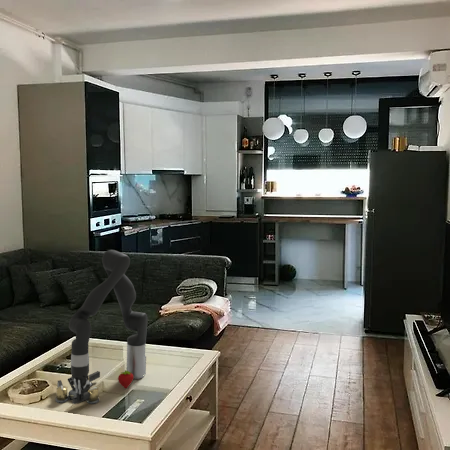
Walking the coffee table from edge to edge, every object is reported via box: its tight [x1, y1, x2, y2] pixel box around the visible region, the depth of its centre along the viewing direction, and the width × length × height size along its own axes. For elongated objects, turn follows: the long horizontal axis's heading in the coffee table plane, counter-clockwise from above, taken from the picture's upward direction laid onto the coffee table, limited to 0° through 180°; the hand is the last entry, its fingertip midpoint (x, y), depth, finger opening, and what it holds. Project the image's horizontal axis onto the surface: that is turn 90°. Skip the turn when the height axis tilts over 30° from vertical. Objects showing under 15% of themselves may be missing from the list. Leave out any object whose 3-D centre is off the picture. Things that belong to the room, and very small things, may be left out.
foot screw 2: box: [72, 386, 99, 405], centre depth 222 cm, size 12×5×5 cm, turn 138°
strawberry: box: [117, 369, 134, 389], centre depth 238 cm, size 6×8×10 cm
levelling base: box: [55, 389, 100, 405], centre depth 227 cm, size 20×18×3 cm
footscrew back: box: [88, 370, 101, 383], centre depth 239 cm, size 12×5×5 cm, turn 152°
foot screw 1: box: [56, 379, 68, 400], centre depth 227 cm, size 12×5×5 cm, turn 25°
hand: (80, 400), depth 217 cm, fingers closed
